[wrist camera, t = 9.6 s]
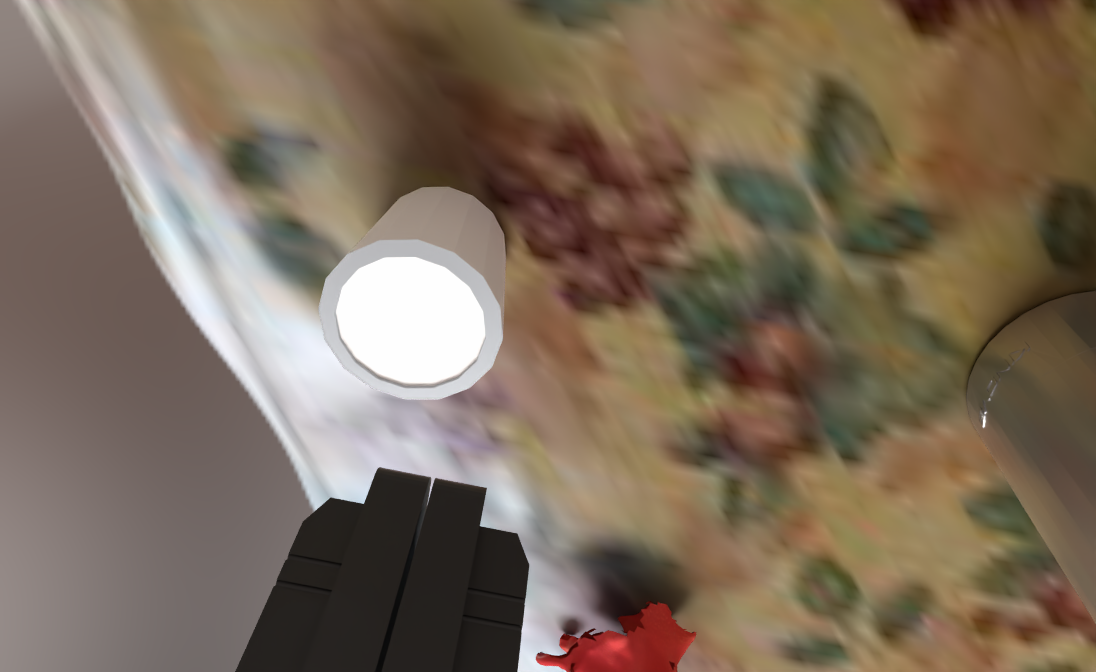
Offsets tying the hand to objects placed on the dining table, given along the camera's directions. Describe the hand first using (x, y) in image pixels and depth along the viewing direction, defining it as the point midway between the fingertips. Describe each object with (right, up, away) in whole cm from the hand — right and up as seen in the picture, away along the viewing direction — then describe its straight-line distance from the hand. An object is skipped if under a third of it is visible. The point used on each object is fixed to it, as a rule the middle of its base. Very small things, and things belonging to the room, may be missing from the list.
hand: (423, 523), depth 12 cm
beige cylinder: (-3, +7, +26) cm, 27 cm away
